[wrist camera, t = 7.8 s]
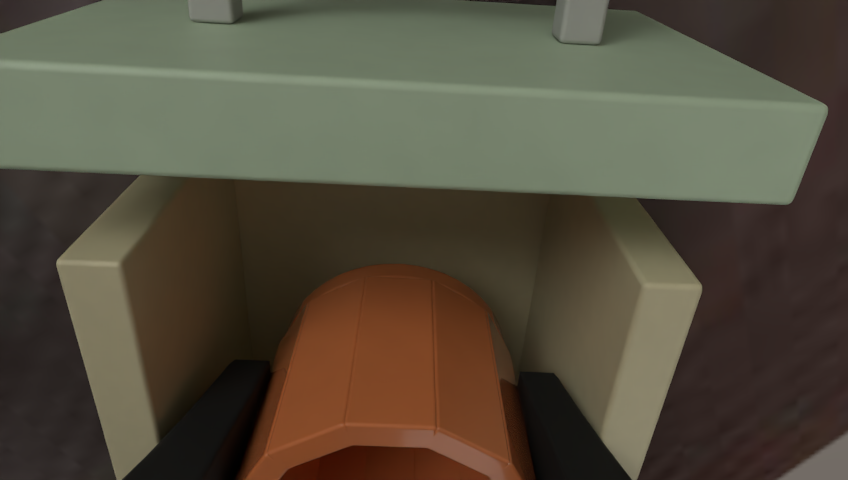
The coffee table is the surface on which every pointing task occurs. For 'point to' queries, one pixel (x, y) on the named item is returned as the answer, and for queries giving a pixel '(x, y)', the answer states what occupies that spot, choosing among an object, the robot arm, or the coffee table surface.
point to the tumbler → (390, 386)
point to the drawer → (387, 180)
